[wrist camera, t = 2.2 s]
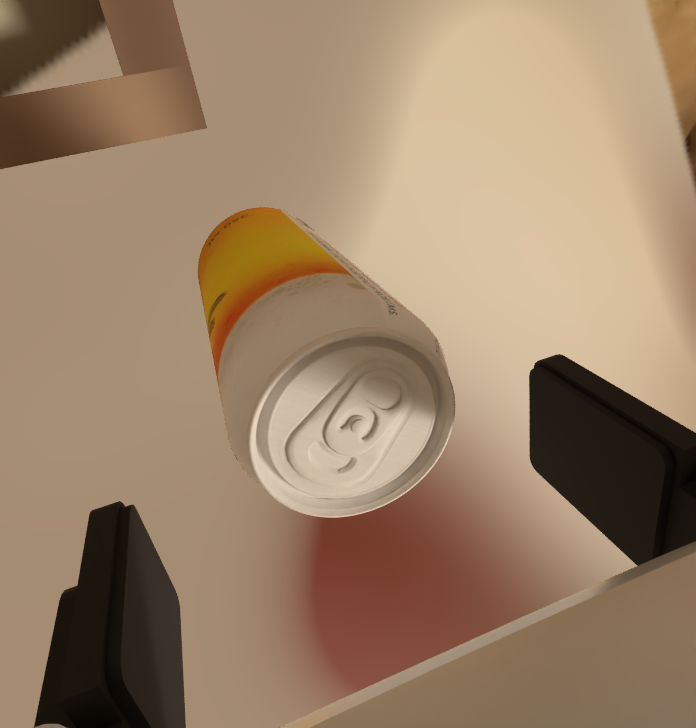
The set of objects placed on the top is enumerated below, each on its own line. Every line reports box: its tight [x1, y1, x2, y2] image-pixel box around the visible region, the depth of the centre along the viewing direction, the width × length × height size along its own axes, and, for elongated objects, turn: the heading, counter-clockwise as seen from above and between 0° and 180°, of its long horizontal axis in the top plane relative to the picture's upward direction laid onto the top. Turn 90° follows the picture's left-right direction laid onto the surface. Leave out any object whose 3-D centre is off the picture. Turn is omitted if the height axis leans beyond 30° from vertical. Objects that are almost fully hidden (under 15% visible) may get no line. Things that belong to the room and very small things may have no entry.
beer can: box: [198, 208, 455, 517], centre depth 19 cm, size 6×6×15 cm
